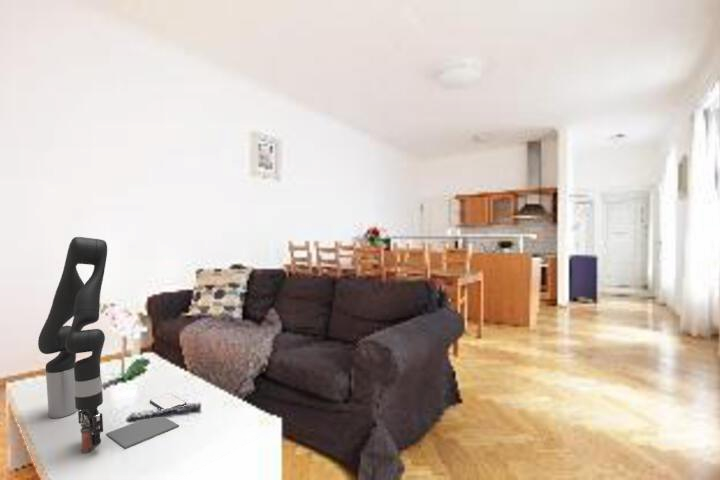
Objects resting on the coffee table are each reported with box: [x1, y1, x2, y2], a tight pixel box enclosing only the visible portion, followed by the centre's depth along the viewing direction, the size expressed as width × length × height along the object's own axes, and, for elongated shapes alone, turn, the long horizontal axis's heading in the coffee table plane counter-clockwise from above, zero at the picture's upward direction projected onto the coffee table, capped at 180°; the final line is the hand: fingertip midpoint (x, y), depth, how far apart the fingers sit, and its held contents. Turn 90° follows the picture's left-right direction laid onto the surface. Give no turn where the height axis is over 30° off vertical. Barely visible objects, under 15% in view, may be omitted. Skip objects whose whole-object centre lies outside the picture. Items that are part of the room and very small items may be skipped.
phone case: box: [149, 393, 188, 409], centre depth 168 cm, size 9×2×16 cm
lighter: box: [80, 420, 102, 455], centre depth 137 cm, size 8×3×10 cm, turn 5°
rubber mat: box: [105, 416, 180, 450], centre depth 147 cm, size 15×18×1 cm
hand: (91, 440), depth 137 cm, fingers open, 7 cm apart
